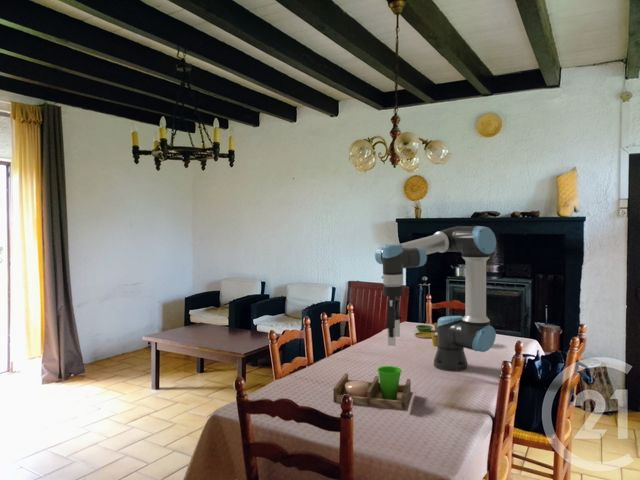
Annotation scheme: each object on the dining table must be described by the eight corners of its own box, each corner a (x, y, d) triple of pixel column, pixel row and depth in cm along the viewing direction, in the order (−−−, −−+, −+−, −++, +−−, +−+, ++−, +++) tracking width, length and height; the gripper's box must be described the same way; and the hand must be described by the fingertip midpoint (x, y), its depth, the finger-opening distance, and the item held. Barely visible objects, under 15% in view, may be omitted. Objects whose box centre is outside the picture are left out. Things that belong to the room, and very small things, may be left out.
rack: (410, 394, 181) (410, 379, 181) (405, 412, 164) (405, 395, 164) (345, 388, 189) (345, 373, 189) (333, 404, 172) (333, 388, 172)
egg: (370, 392, 181) (370, 382, 181) (366, 400, 173) (366, 389, 173) (348, 390, 184) (348, 379, 184) (342, 398, 175) (342, 387, 175)
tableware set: (469, 348, 248) (469, 337, 248) (415, 347, 253) (415, 335, 252) (459, 331, 289) (459, 321, 289) (413, 329, 293) (413, 319, 293)
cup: (401, 404, 169) (400, 373, 169) (375, 402, 171) (375, 372, 171) (402, 395, 178) (402, 366, 178) (378, 393, 180) (378, 365, 180)
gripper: (387, 280, 190) (388, 332, 191) (377, 290, 166) (379, 349, 167) (406, 280, 188) (407, 333, 189) (399, 290, 164) (400, 350, 165)
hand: (394, 340), depth 178 cm, fingers open, 13 cm apart
